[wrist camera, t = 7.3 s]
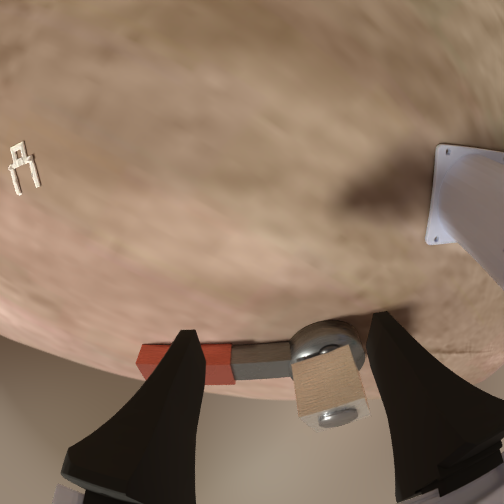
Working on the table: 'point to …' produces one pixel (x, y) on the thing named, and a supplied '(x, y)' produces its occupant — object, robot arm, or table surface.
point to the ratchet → (264, 354)
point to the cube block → (329, 390)
